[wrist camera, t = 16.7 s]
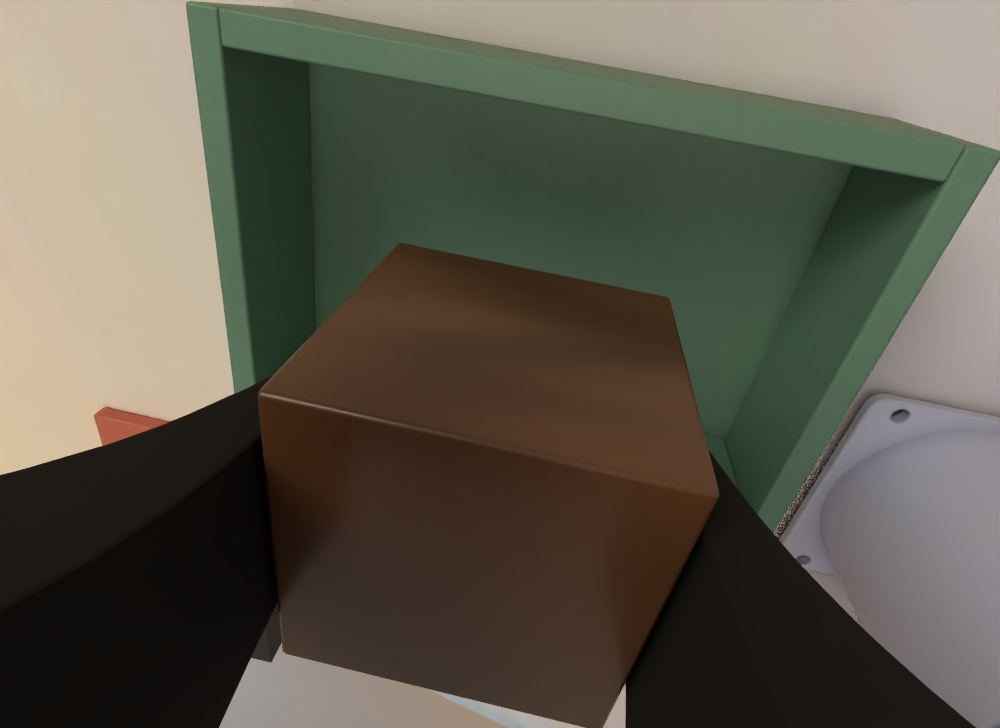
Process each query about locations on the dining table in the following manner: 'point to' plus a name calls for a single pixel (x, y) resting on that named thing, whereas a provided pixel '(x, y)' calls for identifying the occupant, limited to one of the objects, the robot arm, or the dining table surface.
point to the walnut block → (484, 482)
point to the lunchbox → (576, 207)
